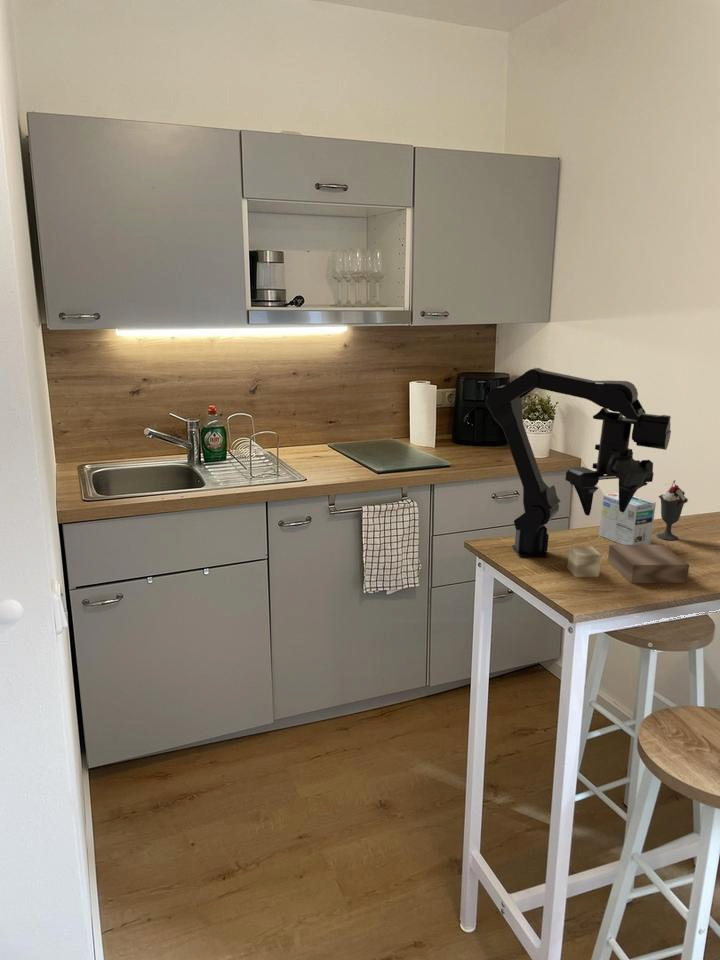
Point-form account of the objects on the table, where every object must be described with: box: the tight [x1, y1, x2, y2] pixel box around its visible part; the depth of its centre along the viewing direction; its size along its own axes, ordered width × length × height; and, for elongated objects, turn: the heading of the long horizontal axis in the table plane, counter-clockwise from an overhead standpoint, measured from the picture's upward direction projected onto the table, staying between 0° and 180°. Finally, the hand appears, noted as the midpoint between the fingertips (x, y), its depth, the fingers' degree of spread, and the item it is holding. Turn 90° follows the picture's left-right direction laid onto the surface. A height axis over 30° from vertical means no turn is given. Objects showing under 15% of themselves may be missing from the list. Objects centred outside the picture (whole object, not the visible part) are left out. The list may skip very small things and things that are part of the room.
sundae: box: [656, 480, 689, 541], centre depth 177 cm, size 7×7×15 cm
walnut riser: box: [607, 544, 690, 584], centre depth 156 cm, size 12×12×4 cm
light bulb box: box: [598, 491, 657, 545], centre depth 175 cm, size 11×7×11 cm, turn 30°
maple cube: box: [567, 546, 602, 578], centre depth 155 cm, size 5×5×5 cm
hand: (604, 513), depth 155 cm, fingers open, 9 cm apart
